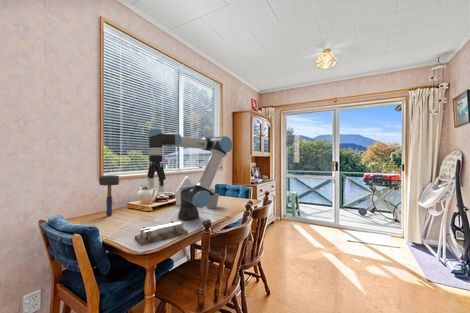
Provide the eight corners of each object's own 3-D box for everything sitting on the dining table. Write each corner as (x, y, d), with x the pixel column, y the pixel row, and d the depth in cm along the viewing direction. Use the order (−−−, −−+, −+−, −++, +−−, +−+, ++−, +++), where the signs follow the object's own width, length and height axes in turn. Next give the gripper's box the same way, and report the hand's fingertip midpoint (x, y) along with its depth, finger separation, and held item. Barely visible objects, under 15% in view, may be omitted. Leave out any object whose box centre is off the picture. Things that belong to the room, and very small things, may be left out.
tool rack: (179, 228, 135) (179, 219, 135) (187, 233, 126) (188, 224, 126) (134, 238, 118) (134, 228, 118) (141, 245, 109) (141, 234, 109)
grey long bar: (179, 227, 132) (179, 221, 132) (184, 230, 128) (184, 223, 128) (140, 236, 117) (140, 229, 117) (143, 239, 113) (143, 232, 113)
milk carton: (175, 205, 195) (176, 178, 195) (176, 202, 210) (176, 176, 210) (197, 204, 200) (197, 177, 200) (196, 201, 215) (196, 176, 215)
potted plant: (210, 205, 199) (211, 183, 199) (221, 207, 190) (222, 184, 190) (200, 207, 189) (200, 184, 189) (211, 210, 180) (211, 186, 180)
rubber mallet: (119, 213, 166) (119, 174, 166) (117, 216, 159) (118, 175, 159) (100, 215, 162) (101, 175, 162) (98, 217, 155) (98, 176, 155)
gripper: (141, 154, 136) (142, 188, 136) (158, 155, 118) (159, 193, 118) (153, 154, 141) (153, 187, 141) (171, 154, 123) (171, 192, 123)
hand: (156, 190), depth 130 cm, fingers open, 13 cm apart
